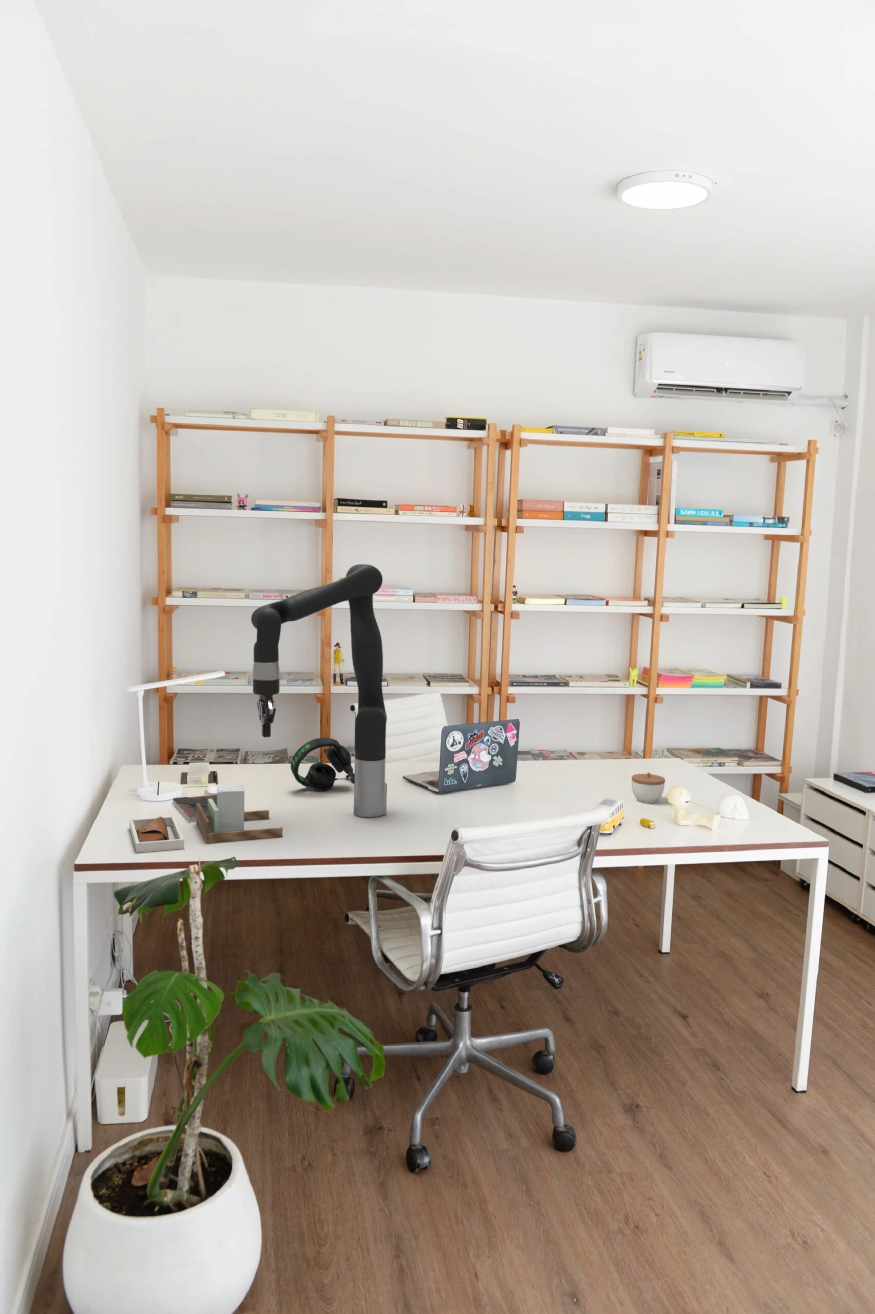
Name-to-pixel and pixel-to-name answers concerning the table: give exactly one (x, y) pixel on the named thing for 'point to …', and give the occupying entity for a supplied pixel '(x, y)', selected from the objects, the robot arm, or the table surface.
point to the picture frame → (193, 805)
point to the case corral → (156, 845)
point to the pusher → (213, 816)
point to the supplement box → (230, 808)
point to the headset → (323, 764)
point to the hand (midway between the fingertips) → (266, 736)
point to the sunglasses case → (153, 831)
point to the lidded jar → (647, 787)
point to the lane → (236, 835)
